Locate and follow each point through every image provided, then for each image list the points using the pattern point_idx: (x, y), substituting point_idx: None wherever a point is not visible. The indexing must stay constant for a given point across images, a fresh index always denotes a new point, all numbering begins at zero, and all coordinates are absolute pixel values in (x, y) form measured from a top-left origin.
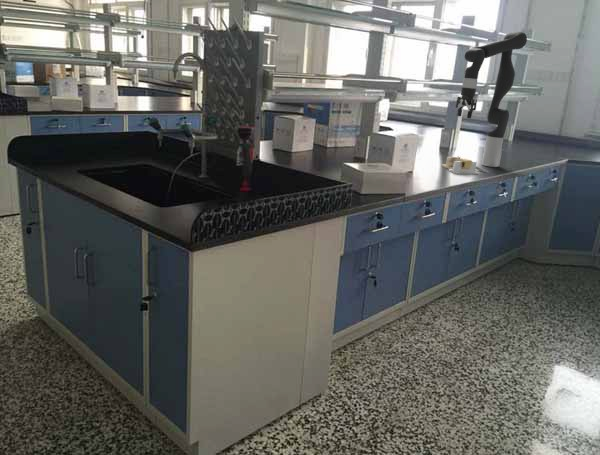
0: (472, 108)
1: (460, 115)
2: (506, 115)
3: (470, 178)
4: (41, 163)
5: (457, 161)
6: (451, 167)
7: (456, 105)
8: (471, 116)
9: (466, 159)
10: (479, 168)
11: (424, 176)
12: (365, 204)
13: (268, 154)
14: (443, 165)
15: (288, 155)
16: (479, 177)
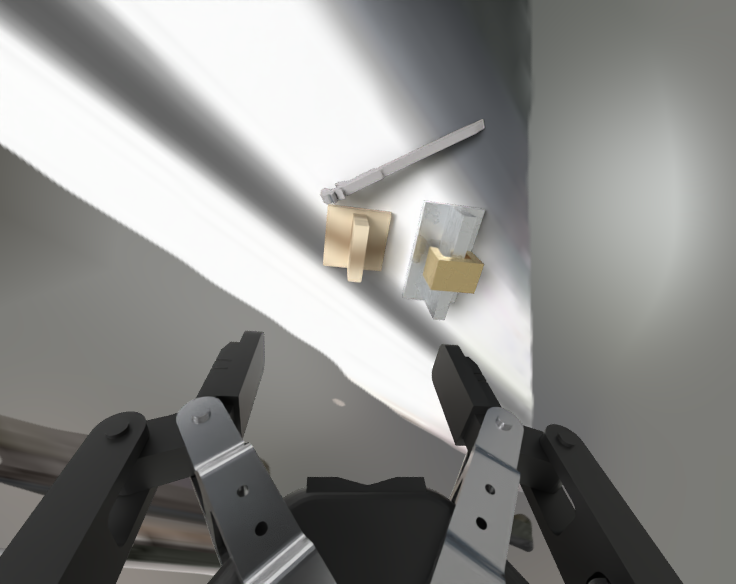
0: (560, 495)
1: (261, 343)
2: None
3: (510, 297)
4: None
5: (439, 306)
6: (381, 265)
7: (123, 502)
8: (477, 365)
9: (457, 273)
10: (444, 147)
11: (438, 406)
12: (532, 543)
13: (188, 569)
14: (336, 266)
15: (192, 550)
16: (516, 251)
